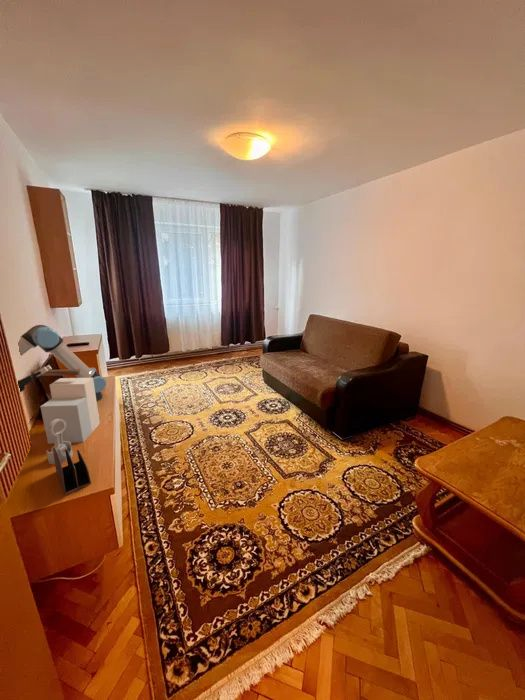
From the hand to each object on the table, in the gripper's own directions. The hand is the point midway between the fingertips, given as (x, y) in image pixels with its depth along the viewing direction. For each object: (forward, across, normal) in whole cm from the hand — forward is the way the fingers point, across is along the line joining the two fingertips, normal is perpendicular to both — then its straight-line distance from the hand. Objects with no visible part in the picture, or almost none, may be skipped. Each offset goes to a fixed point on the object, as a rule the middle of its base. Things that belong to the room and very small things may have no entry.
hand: (48, 367), depth 157 cm
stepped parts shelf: (-9, +5, -39) cm, 40 cm away
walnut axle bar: (+1, 0, -5) cm, 6 cm away
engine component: (-5, +28, -41) cm, 50 cm away
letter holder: (+6, +44, -48) cm, 65 cm away
